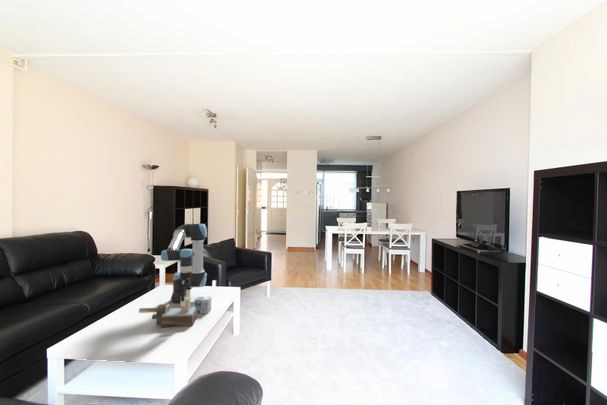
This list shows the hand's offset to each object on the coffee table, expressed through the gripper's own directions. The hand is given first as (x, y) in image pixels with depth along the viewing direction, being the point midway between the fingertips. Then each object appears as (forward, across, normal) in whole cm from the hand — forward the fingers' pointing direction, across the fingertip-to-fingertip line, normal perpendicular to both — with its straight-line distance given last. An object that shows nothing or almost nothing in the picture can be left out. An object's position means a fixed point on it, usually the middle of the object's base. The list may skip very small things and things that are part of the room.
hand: (185, 302), depth 201 cm
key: (+6, 0, -23) cm, 24 cm away
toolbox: (+14, 0, -6) cm, 16 cm away
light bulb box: (+15, -19, +8) cm, 26 cm away
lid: (+8, 0, -4) cm, 9 cm away
